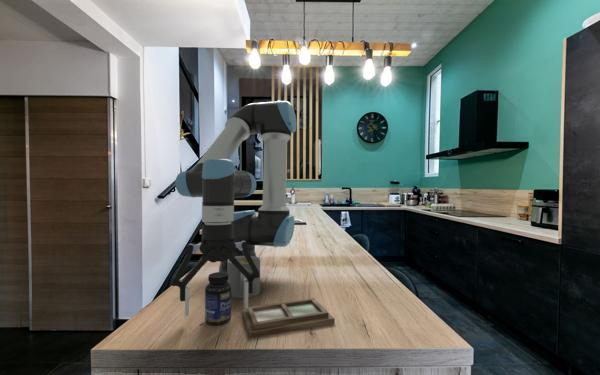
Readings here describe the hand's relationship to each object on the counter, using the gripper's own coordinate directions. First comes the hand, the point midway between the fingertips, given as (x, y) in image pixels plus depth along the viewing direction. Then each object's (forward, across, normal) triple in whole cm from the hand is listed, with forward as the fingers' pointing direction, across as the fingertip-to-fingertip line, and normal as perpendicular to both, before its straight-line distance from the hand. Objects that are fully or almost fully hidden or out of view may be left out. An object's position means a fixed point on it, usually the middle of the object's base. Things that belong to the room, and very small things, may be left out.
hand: (217, 310), depth 69 cm
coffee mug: (+2, +8, +15) cm, 17 cm away
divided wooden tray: (+2, +16, -5) cm, 17 cm away
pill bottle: (+3, 0, 0) cm, 3 cm away
